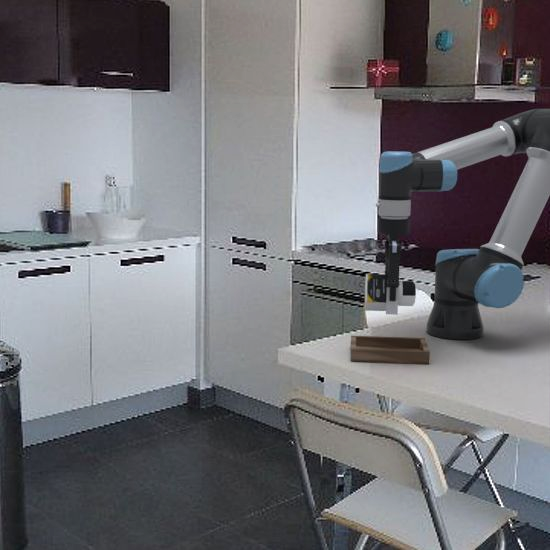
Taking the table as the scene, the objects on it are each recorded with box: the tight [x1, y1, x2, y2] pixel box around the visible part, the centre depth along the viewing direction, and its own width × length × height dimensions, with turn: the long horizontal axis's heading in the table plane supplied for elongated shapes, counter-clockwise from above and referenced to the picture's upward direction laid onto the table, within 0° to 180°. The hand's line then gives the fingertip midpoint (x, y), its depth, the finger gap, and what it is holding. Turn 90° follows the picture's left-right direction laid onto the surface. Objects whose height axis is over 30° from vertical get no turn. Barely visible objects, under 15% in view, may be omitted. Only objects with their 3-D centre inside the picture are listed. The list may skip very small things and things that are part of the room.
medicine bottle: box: [364, 273, 417, 312], centre depth 204 cm, size 7×7×12 cm
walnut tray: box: [350, 335, 431, 365], centre depth 206 cm, size 13×18×3 cm
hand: (390, 309), depth 205 cm, fingers closed on medicine bottle, 9 cm apart
